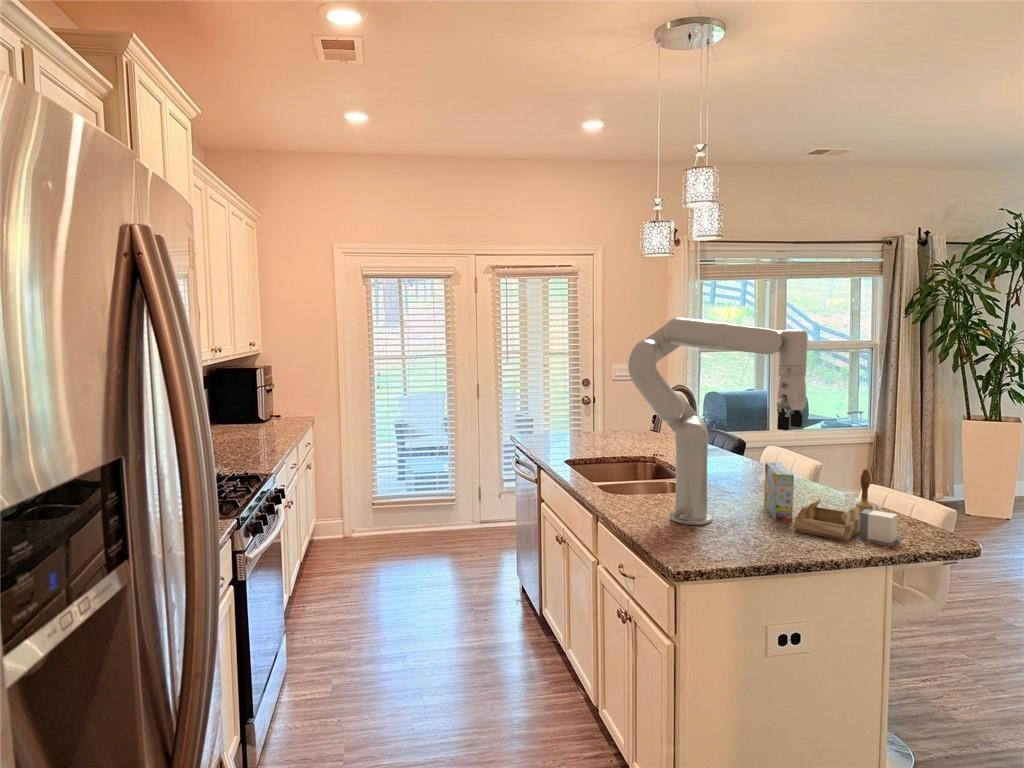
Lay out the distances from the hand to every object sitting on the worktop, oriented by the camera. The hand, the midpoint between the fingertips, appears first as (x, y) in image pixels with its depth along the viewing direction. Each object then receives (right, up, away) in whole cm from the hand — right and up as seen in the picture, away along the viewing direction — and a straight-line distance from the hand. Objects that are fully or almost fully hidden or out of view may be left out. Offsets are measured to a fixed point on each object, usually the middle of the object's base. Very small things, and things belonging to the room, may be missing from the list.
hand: (789, 428), depth 198 cm
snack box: (+3, -29, +15) cm, 33 cm away
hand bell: (+25, -29, +6) cm, 39 cm away
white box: (+19, -30, -13) cm, 38 cm away
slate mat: (+19, -30, -13) cm, 38 cm away
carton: (+10, -30, -4) cm, 32 cm away
